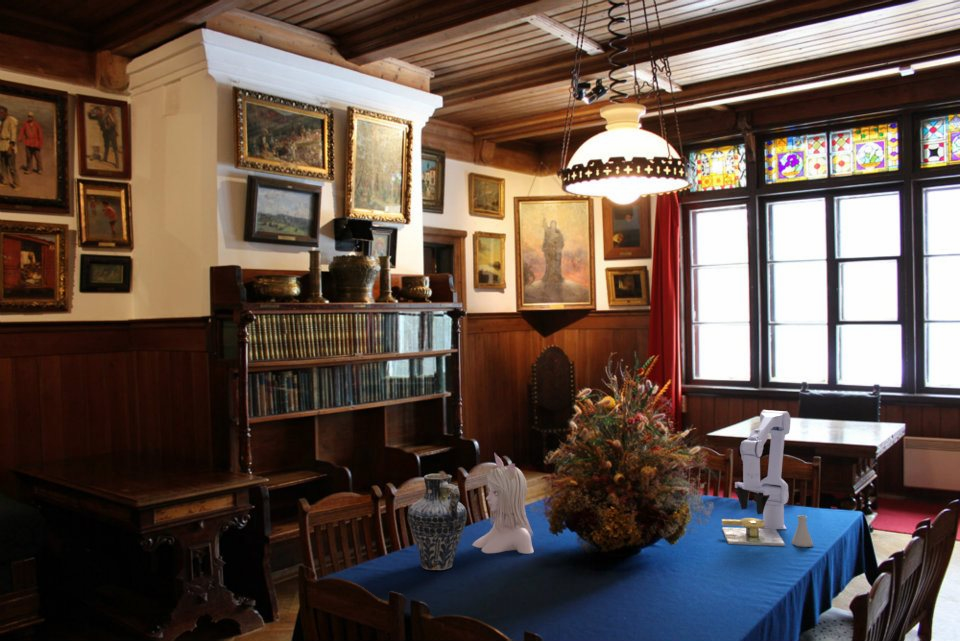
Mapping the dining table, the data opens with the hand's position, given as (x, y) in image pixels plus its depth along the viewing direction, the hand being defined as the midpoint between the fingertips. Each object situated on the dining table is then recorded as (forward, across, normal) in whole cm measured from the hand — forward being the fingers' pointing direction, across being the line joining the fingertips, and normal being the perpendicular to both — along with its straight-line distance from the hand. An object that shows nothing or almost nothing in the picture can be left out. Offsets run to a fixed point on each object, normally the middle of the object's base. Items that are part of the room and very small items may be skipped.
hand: (752, 511), depth 282 cm
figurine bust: (+10, -39, -81) cm, 90 cm away
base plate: (+10, -2, +2) cm, 10 cm away
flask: (+10, +13, +11) cm, 20 cm away
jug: (+10, -28, -111) cm, 115 cm away
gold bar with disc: (+9, -4, -1) cm, 9 cm away
